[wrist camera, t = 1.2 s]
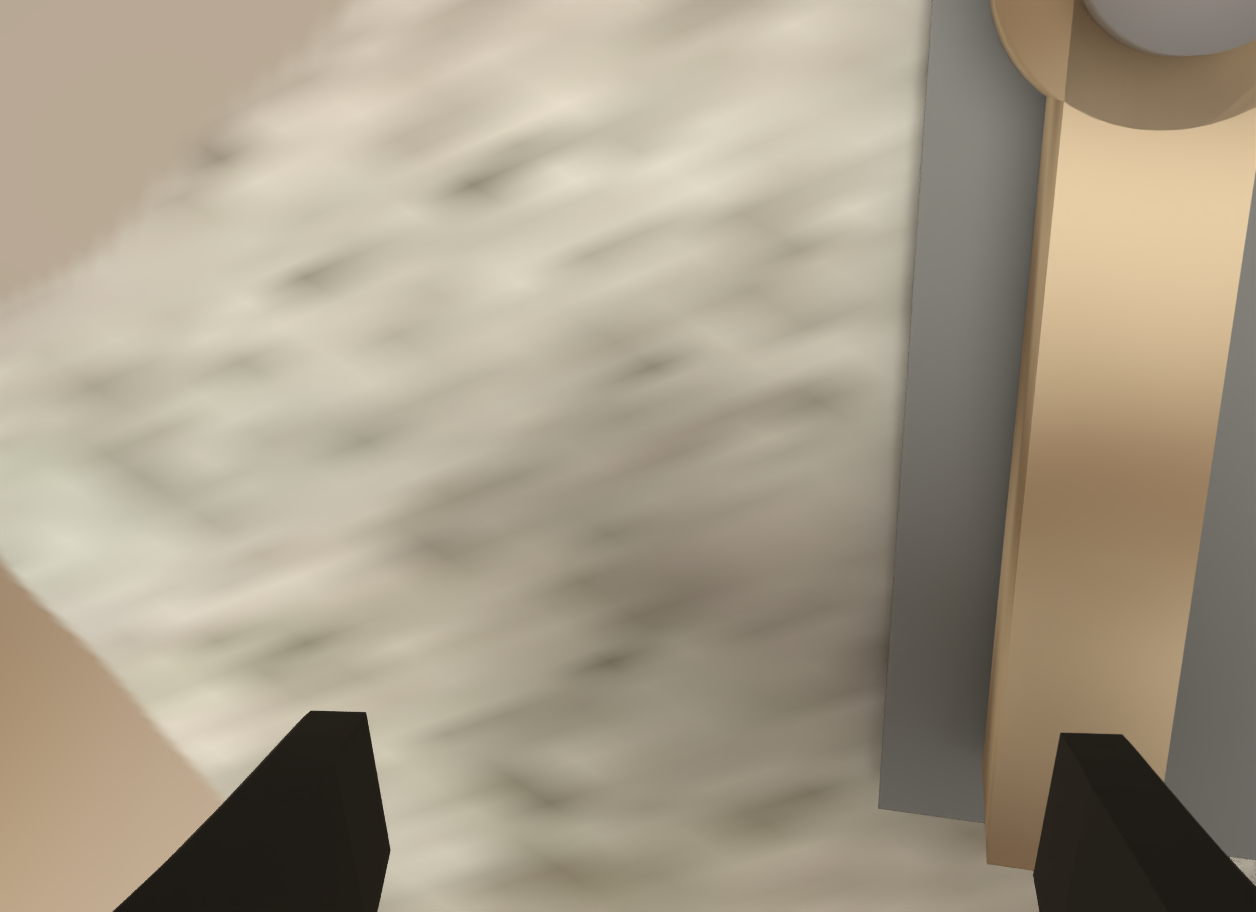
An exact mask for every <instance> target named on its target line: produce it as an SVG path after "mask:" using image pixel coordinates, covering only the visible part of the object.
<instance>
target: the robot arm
mask: <svg viewBox="0 0 1256 912" xmlns="http://www.w3.org/2000/svg"><path fill="white" fill-rule="evenodd" d="M389 855H390V845H389V839H388V833H387V828H386V822H385V816H384V811H383V805H382V799H381V794H380V788H379V782H378V777H377V771H376V766H375V760H374V754H373V749H372V743H371V737H370V732H369V726H368V720H367V715H366V712H339V711H310V712H309V713H308V714H306V715H305V716H304V717H303V718H302V719H301V720H300V721H299V722H298V723H297V724H296V725H295V727H294V728H293V729H292V730H291V731H290V732H289V733H288V734H287V735H286V736H285V737H284V738H283V739H282V740H281V742H280V743H279V744H278V745H277V746H276V747H275V748H274V749H273V750H272V751H271V752H270V753H269V755H268V756H267V757H266V758H265V759H264V760H263V761H262V762H261V763H260V764H259V765H258V766H257V768H256V769H255V770H254V771H253V772H252V773H251V774H250V775H249V776H248V777H247V778H246V779H245V780H244V781H243V783H242V784H241V785H240V786H239V787H238V788H237V789H236V790H235V791H234V792H233V793H232V794H231V795H230V796H229V797H228V799H227V800H226V801H225V802H224V803H223V804H222V805H221V806H220V807H219V808H218V809H217V810H216V811H215V812H214V813H213V814H212V815H211V816H210V817H209V818H208V819H207V820H206V821H205V822H204V823H203V824H202V825H201V826H200V827H199V828H198V829H197V830H196V832H195V833H194V834H193V835H192V836H191V837H190V838H189V839H188V840H187V841H186V842H185V843H184V844H183V845H182V846H181V847H180V848H179V849H178V850H177V851H176V852H175V853H174V854H173V855H172V856H171V857H170V858H169V859H168V860H167V861H166V862H165V863H164V864H163V865H162V866H161V867H160V868H159V869H158V870H157V871H156V872H154V873H153V874H152V875H151V876H150V877H149V878H148V879H147V880H146V881H145V882H144V883H143V884H142V885H141V886H140V887H138V889H136V890H135V891H134V892H133V893H132V894H131V895H130V896H129V897H128V898H127V899H126V900H125V901H124V902H123V903H121V904H120V905H119V906H118V907H117V908H116V909H115V910H114V911H113V912H377V910H378V906H379V902H380V897H381V893H382V888H383V883H384V878H385V874H386V869H387V864H388V860H389ZM1033 877H1034V883H1035V889H1036V894H1037V900H1038V906H1039V912H1256V886H1255V885H1254V884H1253V883H1252V882H1251V881H1250V880H1249V879H1248V878H1247V877H1246V876H1245V874H1244V873H1243V872H1242V871H1241V870H1240V869H1239V868H1238V867H1237V866H1236V865H1235V864H1234V863H1233V861H1232V860H1231V859H1230V858H1229V857H1228V856H1227V855H1226V854H1225V852H1224V851H1223V850H1222V849H1221V848H1220V847H1219V846H1218V845H1217V843H1216V842H1215V841H1214V840H1213V839H1212V838H1211V837H1210V835H1209V834H1208V833H1207V832H1206V831H1205V830H1204V829H1203V827H1202V826H1201V825H1200V824H1199V823H1198V822H1197V820H1196V819H1195V818H1194V817H1193V816H1192V815H1191V814H1190V812H1189V811H1188V810H1187V809H1186V808H1185V807H1184V805H1183V804H1182V803H1181V802H1180V801H1179V799H1178V798H1177V797H1176V796H1175V795H1174V794H1173V792H1172V791H1171V790H1170V789H1169V788H1168V787H1167V785H1166V784H1165V783H1164V782H1163V781H1162V779H1161V778H1160V777H1159V776H1158V775H1157V773H1156V772H1155V771H1154V770H1153V769H1152V768H1151V766H1150V765H1149V764H1148V763H1147V762H1146V760H1145V759H1144V758H1143V757H1142V756H1141V755H1140V753H1139V752H1138V751H1137V750H1136V749H1135V747H1134V746H1133V745H1132V744H1131V743H1130V742H1129V741H1128V740H1127V739H1126V738H1125V737H1124V736H1123V734H1094V733H1060V737H1059V742H1058V747H1057V753H1056V758H1055V763H1054V768H1053V774H1052V779H1051V784H1050V789H1049V794H1048V800H1047V805H1046V810H1045V815H1044V821H1043V826H1042V831H1041V836H1040V842H1039V847H1038V852H1037V857H1036V863H1035V868H1034V873H1033Z"/></svg>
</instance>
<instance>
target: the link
mask: <svg viewBox="0 0 1256 912" xmlns="http://www.w3.org/2000/svg"><path fill="white" fill-rule="evenodd" d="M990 7H991V13H992V17H993V21H994V25H995V29H996V31H997V34H998V36H999V39H1000V41H1001V43H1002V46H1003V48H1004V50H1005V51H1006V53H1007V55H1008V57H1009V58H1010V60H1011V62H1012V63H1013V65H1014V66H1015V67H1016V68H1017V70H1018V71H1019V72H1020V73H1021V75H1022V76H1023V77H1024V78H1025V79H1026V80H1027V81H1028V82H1029V83H1030V84H1031V85H1032V86H1033V87H1034V88H1035V89H1036V90H1037V91H1039V92H1040V93H1041V94H1043V95H1044V96H1046V107H1045V117H1044V128H1043V138H1042V148H1041V159H1040V169H1039V180H1038V190H1037V200H1036V211H1035V221H1034V231H1033V242H1032V252H1031V262H1030V273H1029V283H1028V294H1027V304H1026V314H1025V325H1024V335H1023V345H1022V356H1021V366H1020V376H1019V387H1018V397H1017V408H1016V418H1015V428H1014V439H1013V449H1012V459H1011V470H1010V480H1009V490H1008V501H1007V511H1006V522H1005V532H1004V542H1003V553H1002V563H1001V573H1000V584H999V594H998V604H997V615H996V625H995V636H994V646H993V656H992V667H991V677H990V687H989V698H988V708H987V718H986V729H985V739H984V750H983V760H982V771H983V791H984V811H985V832H986V852H987V864H992V865H999V866H1006V867H1012V868H1019V869H1026V870H1033V871H1034V868H1035V863H1036V857H1037V852H1038V847H1039V842H1040V836H1041V831H1042V826H1043V821H1044V815H1045V810H1046V805H1047V800H1048V794H1049V789H1050V784H1051V779H1052V774H1053V768H1054V763H1055V758H1056V753H1057V747H1058V742H1059V737H1060V733H1094V734H1123V736H1124V737H1125V738H1126V739H1127V740H1128V741H1129V742H1130V743H1131V744H1132V745H1133V746H1134V747H1135V749H1136V750H1137V751H1138V752H1139V753H1140V755H1141V756H1142V757H1143V758H1144V759H1145V760H1146V762H1147V763H1148V764H1149V765H1150V766H1151V768H1152V769H1153V770H1154V771H1155V772H1156V773H1157V775H1158V776H1159V777H1160V778H1161V779H1162V781H1163V782H1164V779H1165V773H1166V766H1167V759H1168V753H1169V746H1170V739H1171V733H1172V726H1173V719H1174V713H1175V706H1176V699H1177V693H1178V686H1179V679H1180V673H1181V666H1182V659H1183V653H1184V646H1185V639H1186V633H1187V626H1188V619H1189V613H1190V606H1191V599H1192V593H1193V586H1194V579H1195V572H1196V566H1197V559H1198V552H1199V546H1200V539H1201V532H1202V526H1203V519H1204V512H1205V506H1206V499H1207V492H1208V486H1209V479H1210V472H1211V466H1212V459H1213V452H1214V446H1215V439H1216V432H1217V426H1218V419H1219V412H1220V406H1221V399H1222V392H1223V386H1224V379H1225V372H1226V366H1227V359H1228V352H1229V346H1230V339H1231V332H1232V326H1233V319H1234V312H1235V306H1236V299H1237V292H1238V286H1239V279H1240V272H1241V266H1242V259H1243V252H1244V246H1245V239H1246V232H1247V226H1248V219H1249V212H1250V206H1251V199H1252V192H1253V185H1254V179H1255V172H1256V40H1253V41H1251V42H1249V43H1247V44H1245V45H1243V46H1240V47H1237V48H1234V49H1231V50H1228V51H1224V52H1219V53H1214V54H1208V55H1194V56H1179V57H1169V56H1157V55H1152V54H1147V53H1143V52H1140V51H1137V50H1134V49H1132V48H1130V47H1128V46H1126V45H1124V44H1122V43H1120V42H1118V41H1117V40H1115V39H1114V38H1113V37H1111V36H1110V35H1108V34H1107V33H1106V32H1105V31H1104V30H1103V29H1102V28H1101V27H1100V26H1099V25H1098V24H1097V22H1096V21H1095V20H1094V19H1093V17H1092V16H1091V15H1090V13H1089V11H1088V10H1087V8H1086V6H1085V4H1084V3H1083V0H990Z"/></svg>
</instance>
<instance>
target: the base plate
mask: <svg viewBox="0 0 1256 912" xmlns="http://www.w3.org/2000/svg"><path fill="white" fill-rule="evenodd" d="M1083 3H1084V4H1085V6H1086V8H1087V10H1088V11H1089V13H1090V15H1091V16H1092V17H1093V19H1094V20H1095V21H1096V22H1097V24H1098V25H1099V26H1100V27H1101V28H1102V29H1103V30H1104V31H1105V32H1106V33H1107V34H1108V35H1110V36H1111V37H1113V38H1114V39H1115V40H1117V41H1118V42H1120V43H1122V44H1124V45H1126V46H1128V47H1130V48H1132V49H1134V50H1137V51H1140V52H1143V53H1147V54H1152V55H1157V56H1169V57H1179V56H1194V55H1208V54H1214V53H1219V52H1224V51H1228V50H1231V49H1234V48H1237V47H1240V46H1243V45H1245V44H1247V43H1249V42H1251V41H1253V40H1256V0H1083ZM1045 107H1046V96H1044V95H1043V94H1041V93H1040V92H1039V91H1037V90H1036V89H1035V88H1034V87H1033V86H1032V85H1031V84H1030V83H1029V82H1028V81H1027V80H1026V79H1025V78H1024V77H1023V76H1022V75H1021V73H1020V72H1019V71H1018V70H1017V68H1016V67H1015V66H1014V65H1013V63H1012V62H1011V60H1010V58H1009V57H1008V55H1007V53H1006V51H1005V50H1004V48H1003V46H1002V43H1001V41H1000V39H999V36H998V34H997V31H996V29H995V25H994V21H993V17H992V13H991V7H990V0H932V15H931V30H930V45H929V60H928V75H927V89H926V104H925V119H924V134H923V149H922V164H921V179H920V193H919V208H918V223H917V238H916V253H915V268H914V283H913V297H912V312H911V327H910V342H909V357H908V372H907V387H906V401H905V416H904V431H903V446H902V461H901V476H900V491H899V505H898V520H897V535H896V550H895V565H894V580H893V595H892V609H891V624H890V639H889V654H888V669H887V684H886V699H885V713H884V728H883V743H882V758H881V773H880V788H879V803H878V809H885V810H892V811H899V812H907V813H914V814H921V815H929V816H936V817H943V818H951V819H958V820H965V821H973V822H980V823H985V811H984V791H983V771H982V760H983V750H984V739H985V729H986V718H987V708H988V698H989V687H990V677H991V667H992V656H993V646H994V636H995V625H996V615H997V604H998V594H999V584H1000V573H1001V563H1002V553H1003V542H1004V532H1005V522H1006V511H1007V501H1008V490H1009V480H1010V470H1011V459H1012V449H1013V439H1014V428H1015V418H1016V408H1017V397H1018V387H1019V376H1020V366H1021V356H1022V345H1023V335H1024V325H1025V314H1026V304H1027V294H1028V283H1029V273H1030V262H1031V252H1032V242H1033V231H1034V221H1035V211H1036V200H1037V190H1038V180H1039V169H1040V159H1041V148H1042V138H1043V128H1044V117H1045ZM1164 783H1165V784H1166V785H1167V787H1168V788H1169V789H1170V790H1171V791H1172V792H1173V794H1174V795H1175V796H1176V797H1177V798H1178V799H1179V801H1180V802H1181V803H1182V804H1183V805H1184V807H1185V808H1186V809H1187V810H1188V811H1189V812H1190V814H1191V815H1192V816H1193V817H1194V818H1195V819H1196V820H1197V822H1198V823H1199V824H1200V825H1201V826H1202V827H1203V829H1204V830H1205V831H1206V832H1207V833H1208V834H1209V835H1210V837H1211V838H1212V839H1213V840H1214V841H1215V842H1216V843H1217V845H1218V846H1219V847H1220V848H1221V849H1222V850H1223V851H1224V852H1225V854H1226V855H1227V856H1229V857H1236V858H1244V859H1251V860H1256V172H1255V179H1254V185H1253V192H1252V199H1251V206H1250V212H1249V219H1248V226H1247V232H1246V239H1245V246H1244V252H1243V259H1242V266H1241V272H1240V279H1239V286H1238V292H1237V299H1236V306H1235V312H1234V319H1233V326H1232V332H1231V339H1230V346H1229V352H1228V359H1227V366H1226V372H1225V379H1224V386H1223V392H1222V399H1221V406H1220V412H1219V419H1218V426H1217V432H1216V439H1215V446H1214V452H1213V459H1212V466H1211V472H1210V479H1209V486H1208V492H1207V499H1206V506H1205V512H1204V519H1203V526H1202V532H1201V539H1200V546H1199V552H1198V559H1197V566H1196V572H1195V579H1194V586H1193V593H1192V599H1191V606H1190V613H1189V619H1188V626H1187V633H1186V639H1185V646H1184V653H1183V659H1182V666H1181V673H1180V679H1179V686H1178V693H1177V699H1176V706H1175V713H1174V719H1173V726H1172V733H1171V739H1170V746H1169V753H1168V759H1167V766H1166V773H1165V779H1164Z"/></svg>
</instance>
